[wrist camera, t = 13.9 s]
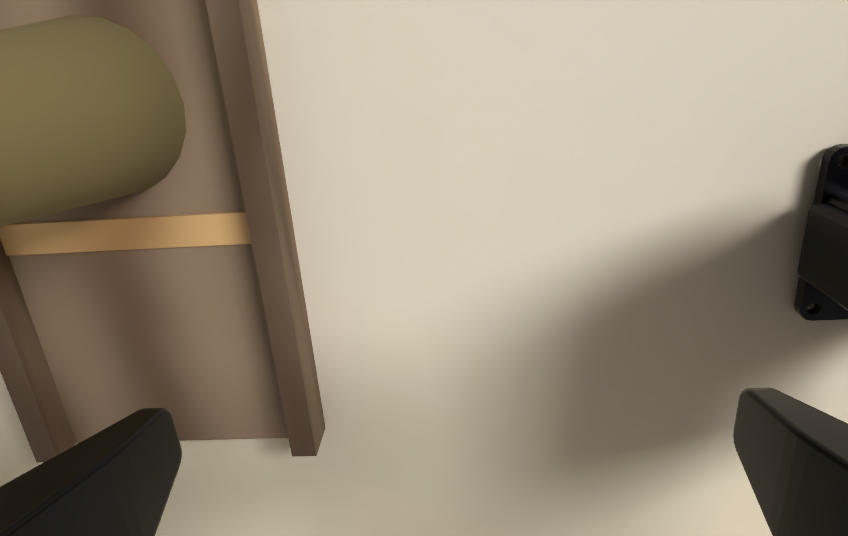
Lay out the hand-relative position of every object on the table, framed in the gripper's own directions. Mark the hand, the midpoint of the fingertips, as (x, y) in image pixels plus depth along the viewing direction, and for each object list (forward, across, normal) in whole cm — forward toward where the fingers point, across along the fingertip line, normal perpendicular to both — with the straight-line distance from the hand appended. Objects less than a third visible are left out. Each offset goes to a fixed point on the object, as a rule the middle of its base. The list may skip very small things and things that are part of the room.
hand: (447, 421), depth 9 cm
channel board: (+13, +12, 0) cm, 18 cm away
